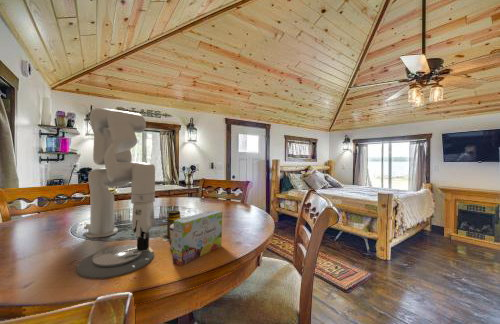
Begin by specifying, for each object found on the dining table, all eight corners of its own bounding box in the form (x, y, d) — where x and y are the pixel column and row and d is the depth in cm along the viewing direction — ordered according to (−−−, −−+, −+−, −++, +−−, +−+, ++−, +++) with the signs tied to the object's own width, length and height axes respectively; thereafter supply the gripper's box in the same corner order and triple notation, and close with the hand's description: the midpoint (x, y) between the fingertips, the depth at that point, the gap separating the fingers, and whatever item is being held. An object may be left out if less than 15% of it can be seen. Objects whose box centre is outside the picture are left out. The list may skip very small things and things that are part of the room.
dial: (96, 272, 67) (97, 251, 67) (89, 256, 77) (89, 238, 77) (156, 255, 79) (156, 237, 79) (142, 243, 90) (142, 228, 90)
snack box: (182, 266, 74) (183, 222, 74) (171, 262, 77) (172, 220, 77) (222, 246, 92) (222, 210, 92) (212, 243, 95) (212, 209, 95)
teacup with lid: (173, 242, 95) (173, 216, 94) (194, 243, 95) (194, 216, 95) (162, 254, 83) (163, 224, 82) (186, 255, 83) (187, 224, 83)
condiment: (183, 238, 101) (183, 212, 101) (164, 241, 96) (164, 214, 96) (178, 233, 107) (179, 209, 107) (160, 236, 102) (160, 211, 102)
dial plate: (57, 275, 67) (57, 271, 67) (112, 246, 90) (112, 243, 90) (127, 280, 65) (127, 276, 65) (165, 249, 88) (165, 246, 88)
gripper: (148, 201, 70) (147, 258, 70) (159, 194, 85) (158, 240, 85) (123, 202, 69) (122, 259, 69) (139, 194, 84) (138, 241, 84)
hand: (142, 249), depth 77 cm, fingers closed
